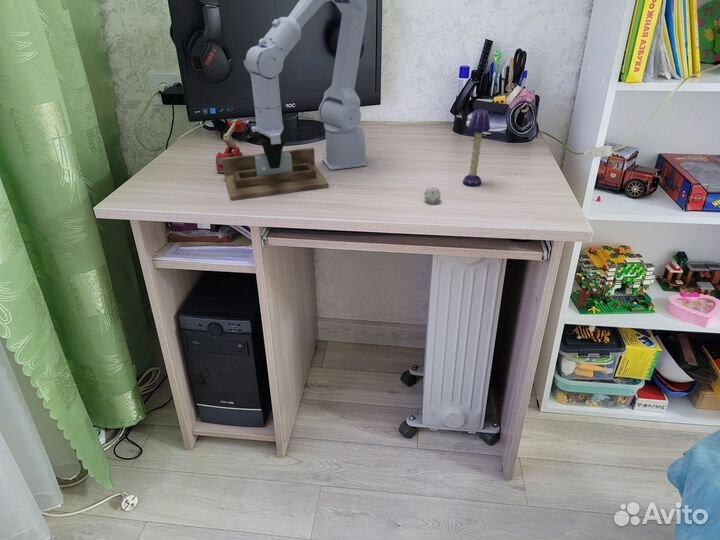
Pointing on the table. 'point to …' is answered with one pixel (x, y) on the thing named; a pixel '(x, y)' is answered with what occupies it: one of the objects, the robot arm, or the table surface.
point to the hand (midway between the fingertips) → (273, 165)
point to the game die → (432, 195)
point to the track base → (272, 176)
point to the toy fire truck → (230, 144)
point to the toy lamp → (476, 144)
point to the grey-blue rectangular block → (265, 169)
